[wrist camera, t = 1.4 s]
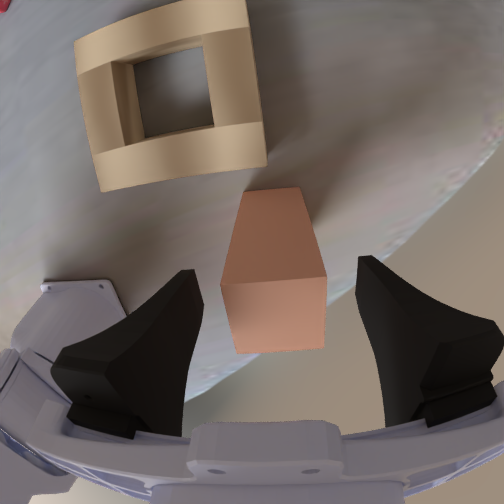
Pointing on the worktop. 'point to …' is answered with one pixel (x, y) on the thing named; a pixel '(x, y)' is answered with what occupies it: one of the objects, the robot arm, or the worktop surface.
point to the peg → (274, 275)
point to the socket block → (127, 105)
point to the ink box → (4, 5)
